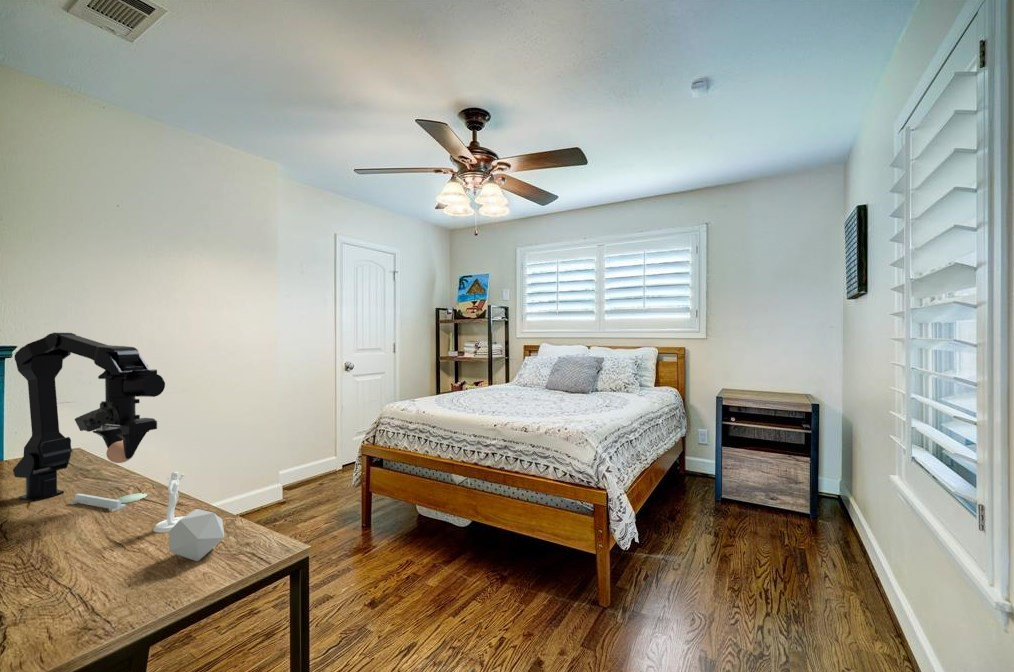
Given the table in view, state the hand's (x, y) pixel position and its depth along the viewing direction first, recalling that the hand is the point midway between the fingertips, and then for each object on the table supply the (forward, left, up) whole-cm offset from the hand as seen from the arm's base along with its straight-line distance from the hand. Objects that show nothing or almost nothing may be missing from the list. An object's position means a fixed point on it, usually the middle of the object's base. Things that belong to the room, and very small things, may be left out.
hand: (121, 457), depth 112 cm
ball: (0, 0, -1) cm, 1 cm away
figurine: (+27, -6, -11) cm, 30 cm away
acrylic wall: (-3, -4, -11) cm, 12 cm away
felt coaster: (0, +2, -11) cm, 11 cm away
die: (+45, -14, -11) cm, 49 cm away
